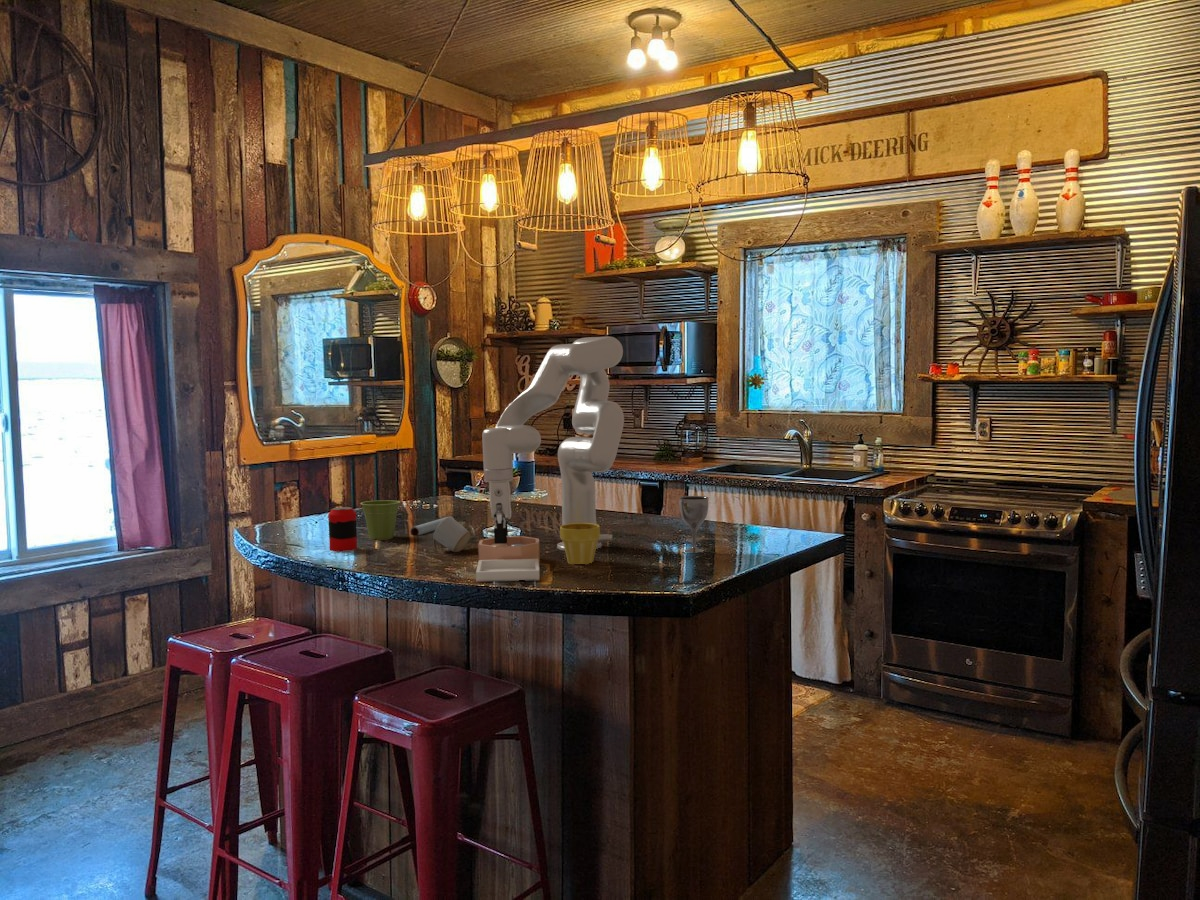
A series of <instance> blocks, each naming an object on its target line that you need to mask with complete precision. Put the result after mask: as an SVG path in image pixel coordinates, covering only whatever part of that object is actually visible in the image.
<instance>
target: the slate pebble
mask: <svg viewBox="0 0 1200 900" xmlns="http://www.w3.org/2000/svg"><path fill="white" fill-rule="evenodd" d="M522 545H527V544H526V543H515V544H511V546H522Z"/></svg>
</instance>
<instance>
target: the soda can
mask: <svg viewBox="0 0 1200 900" xmlns="http://www.w3.org/2000/svg"><path fill="white" fill-rule="evenodd" d="M356 512H357V511H355V510H354V509H353V507H349V506H345V507H344V506H341V507H334V508H331V510H330V511H329V512H328V537H329V538H328V539H329V541H328V542H329V543H328V544H329V551H331V552H350V551H355V550H357V549H358V537H357V536H358V534H357V533H358V532H357V513H356Z"/></svg>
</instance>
